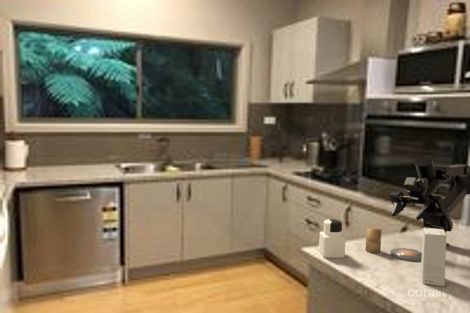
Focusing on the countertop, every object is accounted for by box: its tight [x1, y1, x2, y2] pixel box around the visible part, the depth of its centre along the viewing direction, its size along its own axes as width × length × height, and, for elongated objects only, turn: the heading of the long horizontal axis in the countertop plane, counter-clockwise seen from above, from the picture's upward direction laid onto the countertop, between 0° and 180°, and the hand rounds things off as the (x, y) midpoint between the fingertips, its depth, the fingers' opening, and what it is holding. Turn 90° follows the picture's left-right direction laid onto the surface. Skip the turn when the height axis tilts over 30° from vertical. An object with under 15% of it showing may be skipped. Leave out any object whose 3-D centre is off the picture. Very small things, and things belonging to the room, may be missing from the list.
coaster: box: [390, 247, 422, 262], centre depth 140 cm, size 11×11×1 cm
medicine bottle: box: [318, 218, 346, 259], centre depth 139 cm, size 7×7×12 cm
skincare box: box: [420, 227, 448, 288], centre depth 119 cm, size 8×6×15 cm
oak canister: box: [364, 226, 382, 254], centre depth 144 cm, size 5×5×8 cm
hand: (404, 217), depth 138 cm, fingers open, 9 cm apart
